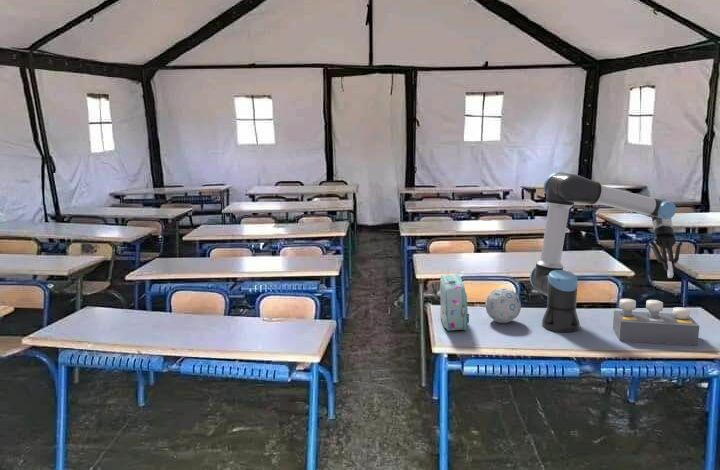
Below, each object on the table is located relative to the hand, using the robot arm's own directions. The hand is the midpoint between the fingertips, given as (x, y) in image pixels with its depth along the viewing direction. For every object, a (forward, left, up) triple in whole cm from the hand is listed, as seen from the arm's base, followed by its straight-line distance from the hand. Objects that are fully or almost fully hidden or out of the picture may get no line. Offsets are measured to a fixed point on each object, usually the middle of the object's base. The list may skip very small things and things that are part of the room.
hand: (670, 276), depth 238 cm
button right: (+1, -12, -19) cm, 22 cm away
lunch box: (-89, -13, -22) cm, 92 cm away
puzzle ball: (-68, -6, -22) cm, 71 cm away
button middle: (-9, -12, -16) cm, 22 cm away
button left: (-19, -12, -16) cm, 27 cm away
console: (-9, -14, -22) cm, 27 cm away
